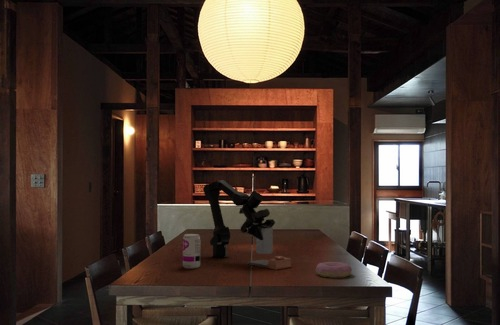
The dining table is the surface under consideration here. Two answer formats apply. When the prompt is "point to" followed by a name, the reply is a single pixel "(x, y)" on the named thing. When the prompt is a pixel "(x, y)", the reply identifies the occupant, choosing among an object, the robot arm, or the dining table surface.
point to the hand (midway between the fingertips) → (266, 239)
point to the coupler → (273, 263)
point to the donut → (333, 269)
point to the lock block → (265, 240)
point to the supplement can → (191, 251)
